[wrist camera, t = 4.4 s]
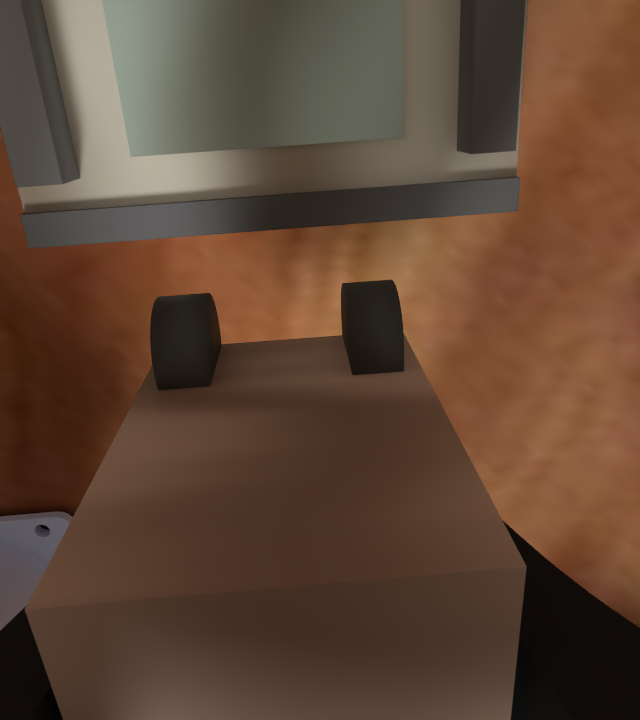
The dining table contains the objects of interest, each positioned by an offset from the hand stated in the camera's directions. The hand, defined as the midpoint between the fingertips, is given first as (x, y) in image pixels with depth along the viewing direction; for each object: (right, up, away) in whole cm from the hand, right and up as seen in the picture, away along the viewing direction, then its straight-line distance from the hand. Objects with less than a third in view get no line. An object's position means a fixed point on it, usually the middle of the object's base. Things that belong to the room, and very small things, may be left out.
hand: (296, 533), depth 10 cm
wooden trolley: (0, +1, +2) cm, 2 cm away
